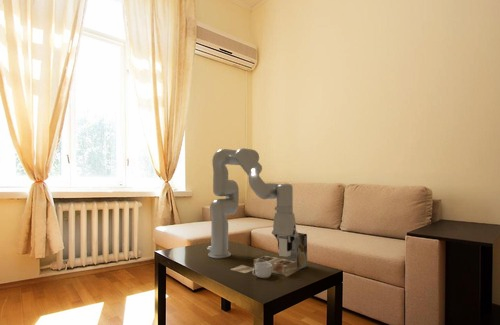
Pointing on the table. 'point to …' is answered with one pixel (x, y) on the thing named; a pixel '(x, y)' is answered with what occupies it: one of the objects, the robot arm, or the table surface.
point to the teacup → (263, 269)
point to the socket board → (279, 265)
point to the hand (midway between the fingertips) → (285, 249)
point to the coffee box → (299, 251)
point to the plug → (283, 246)
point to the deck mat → (243, 269)
